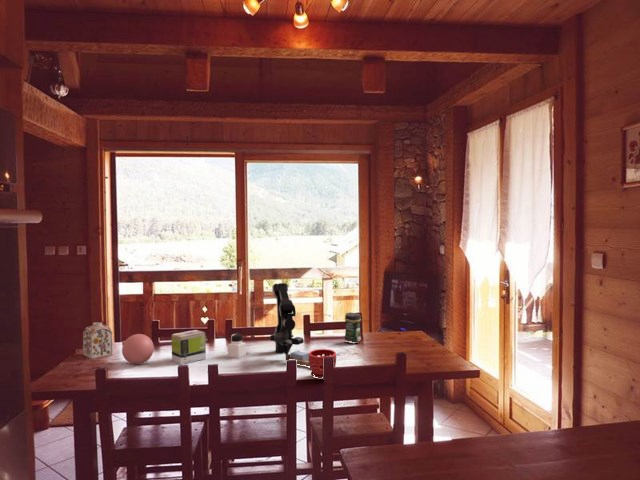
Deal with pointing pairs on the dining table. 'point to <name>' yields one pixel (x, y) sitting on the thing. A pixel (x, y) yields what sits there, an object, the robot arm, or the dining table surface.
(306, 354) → the block
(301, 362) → the chute
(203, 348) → the tea box
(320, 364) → the plant pot
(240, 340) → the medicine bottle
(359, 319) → the coffee jar
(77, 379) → the dining table surface
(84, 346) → the decorative jar
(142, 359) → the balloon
